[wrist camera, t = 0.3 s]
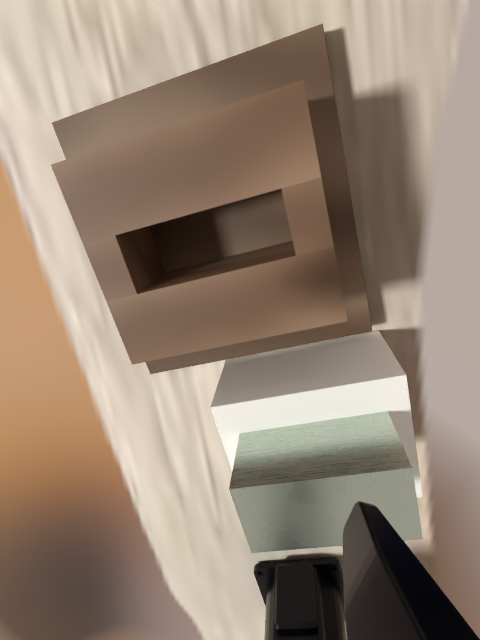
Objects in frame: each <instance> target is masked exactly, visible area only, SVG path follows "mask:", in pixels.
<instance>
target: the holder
mask: <svg viewBox="0 0 480 640" xmlns="http://www.w3.org/2000/svg"><path fill="white" fill-rule="evenodd" d="M210 408H211V411H212V414H213V417H214V420H215V423H216V425H217V428H218V431H219V434H220V437H221V440H222V443H223V446H224V449H225V452H226V455H227V457H228V460H229V463H230V466H231V469H232V471H233V466H234V460H235V455H236V449H237V444H238V438H239V433H244V432H251V431H258V430H264V429H271V428H278V427H285V426H291V425H298V424H305V423H311V422H318V421H325V420H331V419H338V418H345V417H351V416H358V415H365V414H372V413H378V412H385V411H388V414H389V416H390V418H391V420H392V423H393V425H394V427H395V429H396V432H397V434H398V436H399V438H400V441H401V443H402V445H403V448H404V450H405V452H406V454H407V457H408V459H409V461H410V463H411V466H412V468H413V475H414V482H415V490H416V497H417V498H420V497H423V496H422V489H421V481H420V474H419V466H418V459H417V451H416V444H415V436H414V429H413V421H412V414H411V406H410V399H409V391H408V384H407V377H406V374H405V372H404V370H403V369H402V367H401V366H400V364H399V362H398V361H397V359H396V357H395V356H394V354H393V353H392V351H391V349H390V348H389V346H388V345H387V343H386V341H385V340H384V338H383V337H382V335H381V333H380V332H379V331H374V332H369V333H363V334H358V335H353V336H348V337H343V338H338V339H332V340H327V341H322V342H317V343H312V344H306V345H301V346H296V347H291V348H286V349H280V350H275V351H270V352H265V353H260V354H254V355H249V356H244V357H239V358H234V359H229V360H226V362H225V365H224V368H223V371H222V374H221V377H220V380H219V383H218V386H217V389H216V392H215V395H214V398H213V401H212V404H211V407H210Z"/></svg>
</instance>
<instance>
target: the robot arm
mask: <svg viewBox="0 0 480 640" xmlns="http://www.w3.org/2000/svg"><path fill="white" fill-rule="evenodd" d="M254 575H255V578H256V580H257V583H258V586H259V589H260V591H261V594H262V597H263V600H264V603H265V605H266V620H265V640H480V639H479V638H478V636H477V635H476V634H475V633H474V631H473V630H472V629H471V628H470V626H469V625H468V624H467V622H466V621H465V620H464V618H463V617H462V616H461V614H460V613H459V612H458V611H457V609H456V608H455V607H454V605H453V604H452V603H451V602H450V600H449V599H448V598H447V596H446V595H445V594H444V593H443V591H442V590H441V589H440V587H439V586H438V585H437V583H436V582H435V581H434V580H433V578H432V577H431V576H430V574H429V573H428V572H427V571H426V569H425V568H424V567H423V565H422V564H421V563H420V562H419V560H418V559H417V558H416V556H415V555H414V554H413V552H412V551H411V550H410V549H409V547H408V546H407V545H406V543H405V542H404V541H403V540H402V538H401V537H400V536H399V534H398V533H397V532H396V530H395V529H394V528H393V527H392V525H391V524H390V523H389V521H388V520H387V519H386V518H385V516H384V515H383V514H382V512H381V511H380V510H379V509H378V507H376V506H375V505H373V504H369V503H366V502H362V501H358V502H356V503H355V505H354V507H353V509H352V511H351V513H350V515H349V517H348V519H347V522H346V524H345V526H344V530H343V574H342V570H341V566H340V562H339V561H338V560H337V559H335V558H327V559H314V560H300V561H287V562H274V563H260V564H256V565H255V567H254ZM343 576H344V578H343ZM345 623H346V625H345ZM346 632H347V633H346Z"/></svg>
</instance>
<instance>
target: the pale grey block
mask: <svg viewBox="0 0 480 640" xmlns="http://www.w3.org/2000/svg"><path fill="white" fill-rule="evenodd" d="M229 490H230V493H231V496H232V499H233V501H234V504H235V507H236V510H237V513H238V516H239V518H240V521H241V524H242V527H243V530H244V533H245V535H246V538H247V541H248V544H249V547H250V549H251V552H252V553H255V552H267V551H280V550H292V549H305V548H317V547H329V546H342V545H343V530H344V526H345V524H346V522H347V519H348V517H349V515H350V513H351V511H352V509H353V507H354V505H355V503H356V502H358V501H362V502H366V503H369V504H373V505H375V506H376V507H378V509H379V510H380V511H381V512H382V514H383V515H384V516H385V518H386V519H387V520H388V521H389V523H390V524H391V525H392V527H393V528H394V529H395V530H396V532H397V533H398V534H399V536H400V537H401V538H402V540H403V541H404V540H416V539H422V532H421V525H420V518H419V511H418V504H417V497H416V490H415V482H414V475H413V468H412V466H411V463H410V461H409V459H408V457H407V454H406V452H405V450H404V448H403V445H402V443H401V441H400V438H399V436H398V434H397V432H396V429H395V427H394V425H393V423H392V420H391V418H390V416H389V414H388V411H385V412H378V413H372V414H365V415H358V416H351V417H345V418H338V419H331V420H325V421H318V422H311V423H305V424H298V425H291V426H285V427H278V428H271V429H264V430H258V431H251V432H244V433H239V438H238V444H237V449H236V455H235V460H234V466H233V471H232V477H231V482H230V488H229Z"/></svg>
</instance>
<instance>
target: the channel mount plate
mask: <svg viewBox="0 0 480 640" xmlns="http://www.w3.org/2000/svg"><path fill="white" fill-rule="evenodd" d="M52 124H53V127H54V130H55V132H56V135H57V137H58V140H59V142H60V145H61V147H62V150H63V152H64V155H65V158H66V160H64V161H61V162H58V163H55V164H52V165H51V166H52V169H53V171H54V174H55V176H56V178H57V181H58V183H59V186H60V188H61V191H62V193H63V196H64V198H65V201H66V203H67V205H68V208H69V210H70V213H71V215H72V218H73V220H74V223H75V225H76V228H77V230H78V233H79V235H80V237H81V240H82V242H83V245H84V247H85V250H86V252H87V255H88V257H89V260H90V262H91V264H92V267H93V269H94V272H95V274H96V277H97V279H98V282H99V284H100V287H101V289H102V291H103V294H104V296H105V299H106V301H107V304H108V306H109V309H110V311H111V314H112V316H113V318H114V321H115V323H116V326H117V328H118V331H119V333H120V336H121V338H122V341H123V343H124V345H125V348H126V350H127V353H128V355H129V358H130V360H131V363H132V364H137V363H142V362H146V364H147V366H148V369H149V371H150V374H153V373H158V372H163V371H168V370H174V369H179V368H184V367H189V366H194V365H199V364H205V363H210V362H215V361H220V360H225V359H231V358H236V357H241V356H246V355H251V354H256V353H262V352H267V351H272V350H277V349H282V348H288V347H293V346H298V345H303V344H308V343H313V342H319V341H324V340H329V339H334V338H339V337H345V336H350V335H355V334H360V333H365V332H370V331H372V326H371V320H370V314H369V308H368V302H367V295H366V289H365V283H364V277H363V271H362V264H361V258H360V252H359V246H358V240H357V233H356V227H355V221H354V215H353V209H352V202H351V196H350V190H349V184H348V178H347V171H346V165H345V159H344V153H343V147H342V140H341V134H340V128H339V122H338V116H337V109H336V103H335V97H334V91H333V85H332V78H331V72H330V66H329V60H328V54H327V47H326V41H325V35H324V29H323V24H321V25H318V26H315V27H312V28H310V29H307V30H304V31H301V32H299V33H296V34H293V35H291V36H288V37H285V38H282V39H280V40H277V41H274V42H271V43H269V44H266V45H263V46H260V47H258V48H255V49H252V50H249V51H247V52H244V53H241V54H239V55H236V56H233V57H230V58H228V59H225V60H222V61H219V62H217V63H214V64H211V65H208V66H206V67H203V68H200V69H198V70H195V71H192V72H189V73H187V74H184V75H181V76H178V77H176V78H173V79H170V80H167V81H165V82H162V83H159V84H157V85H154V86H151V87H148V88H146V89H143V90H140V91H137V92H135V93H132V94H129V95H126V96H124V97H121V98H118V99H116V100H113V101H110V102H107V103H105V104H102V105H99V106H96V107H94V108H91V109H88V110H85V111H83V112H80V113H77V114H74V115H72V116H69V117H66V118H64V119H61V120H58V121H55V122H53V123H52Z"/></svg>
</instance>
